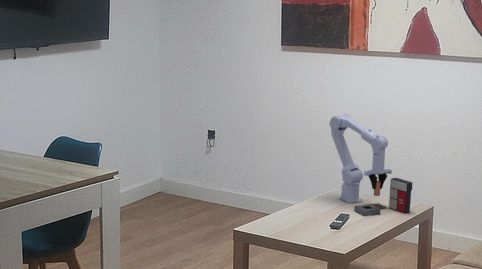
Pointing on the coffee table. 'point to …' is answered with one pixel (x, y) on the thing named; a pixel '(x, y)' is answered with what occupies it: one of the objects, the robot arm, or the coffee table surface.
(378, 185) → the cylinder
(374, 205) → the mat
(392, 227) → the coffee table surface
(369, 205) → the chuck plate
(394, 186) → the red and grey box
